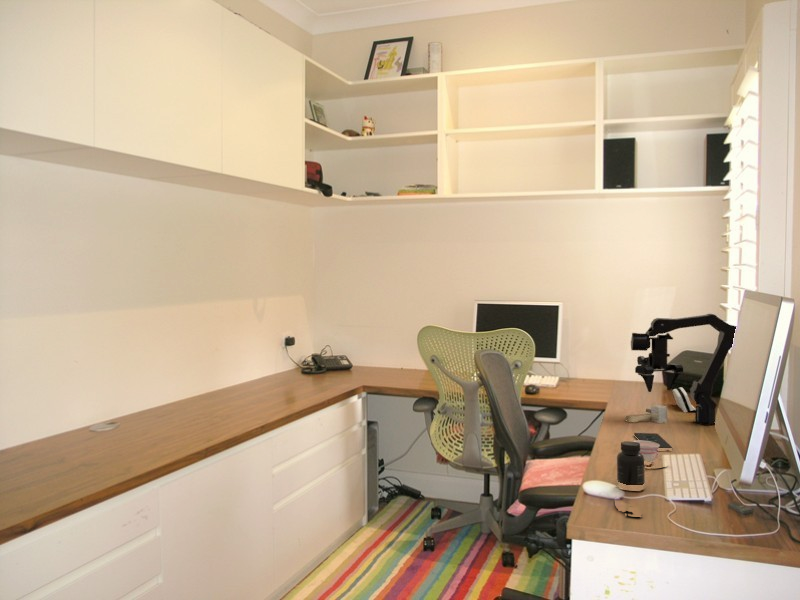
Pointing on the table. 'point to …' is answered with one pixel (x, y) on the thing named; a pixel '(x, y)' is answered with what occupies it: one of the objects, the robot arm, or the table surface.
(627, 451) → the supplement bottle
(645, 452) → the teacup
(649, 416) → the pine board
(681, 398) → the white rounded piece
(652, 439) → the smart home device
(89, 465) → the table surface
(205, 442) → the table surface
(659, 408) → the marking gauge
